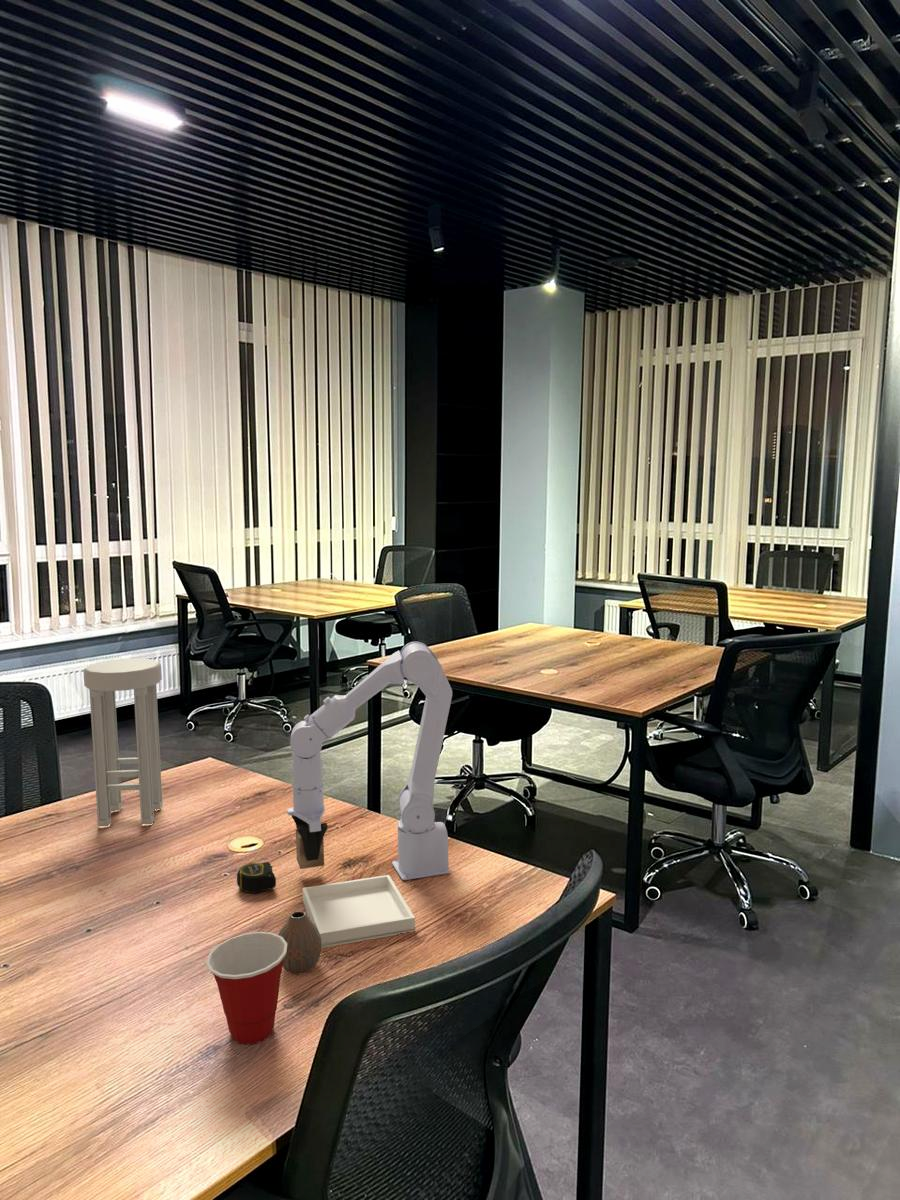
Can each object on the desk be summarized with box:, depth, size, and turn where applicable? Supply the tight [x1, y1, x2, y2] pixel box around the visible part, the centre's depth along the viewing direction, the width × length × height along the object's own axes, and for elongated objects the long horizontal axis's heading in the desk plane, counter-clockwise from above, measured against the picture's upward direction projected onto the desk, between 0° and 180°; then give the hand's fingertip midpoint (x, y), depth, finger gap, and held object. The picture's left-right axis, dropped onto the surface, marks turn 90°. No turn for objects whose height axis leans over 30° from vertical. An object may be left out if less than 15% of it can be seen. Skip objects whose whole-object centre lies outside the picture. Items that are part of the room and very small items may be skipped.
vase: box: [278, 910, 322, 975], centre depth 137 cm, size 7×7×9 cm
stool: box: [83, 657, 164, 827], centre depth 196 cm, size 16×16×35 cm
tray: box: [302, 874, 416, 949], centre depth 153 cm, size 16×17×2 cm
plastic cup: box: [205, 931, 287, 1045], centre depth 120 cm, size 11×11×12 cm
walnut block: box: [295, 828, 325, 870], centre depth 168 cm, size 4×4×6 cm
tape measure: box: [236, 861, 277, 893], centre depth 164 cm, size 7×7×4 cm
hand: (310, 854), depth 168 cm, fingers closed on walnut block, 4 cm apart
